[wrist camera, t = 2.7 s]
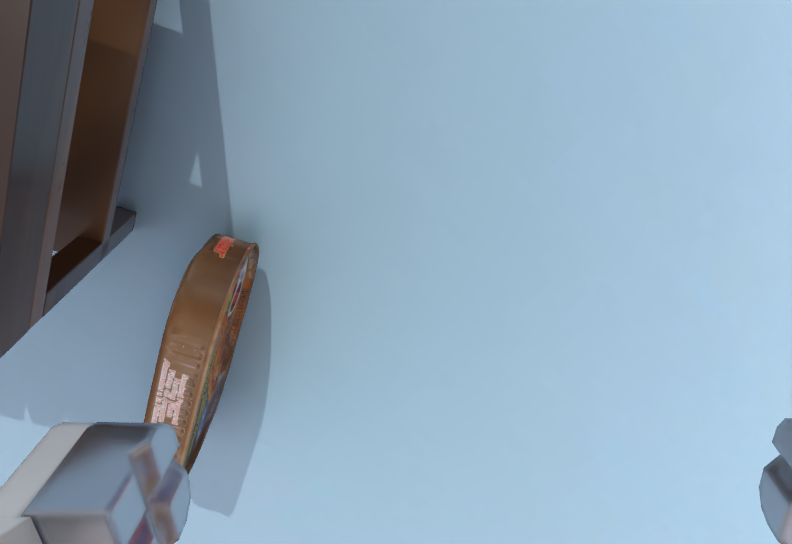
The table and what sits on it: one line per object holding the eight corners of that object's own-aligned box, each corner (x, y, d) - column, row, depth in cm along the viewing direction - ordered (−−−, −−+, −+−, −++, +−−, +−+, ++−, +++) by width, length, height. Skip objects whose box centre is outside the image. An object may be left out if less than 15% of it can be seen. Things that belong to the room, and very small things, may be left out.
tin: (214, 421, 40) (180, 517, 32) (167, 410, 39) (122, 505, 32) (269, 224, 35) (245, 283, 27) (216, 208, 34) (176, 264, 26)
